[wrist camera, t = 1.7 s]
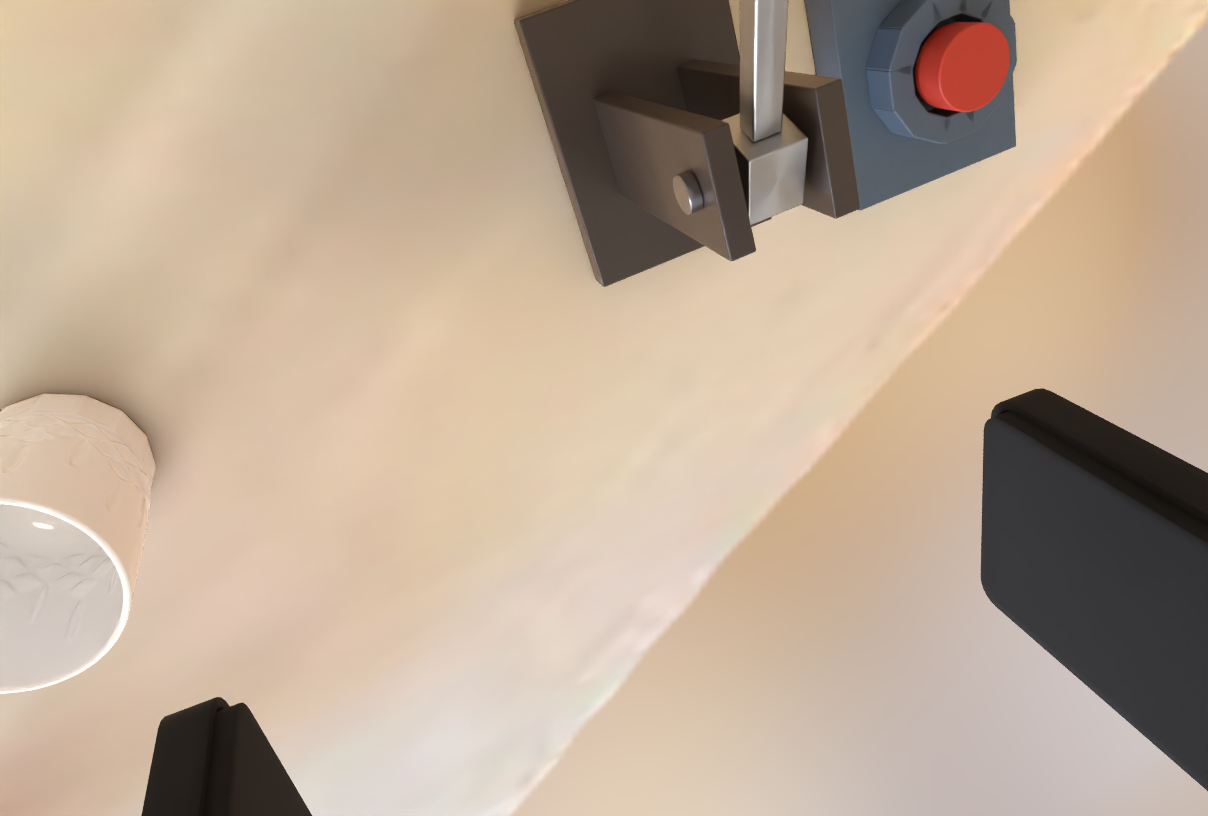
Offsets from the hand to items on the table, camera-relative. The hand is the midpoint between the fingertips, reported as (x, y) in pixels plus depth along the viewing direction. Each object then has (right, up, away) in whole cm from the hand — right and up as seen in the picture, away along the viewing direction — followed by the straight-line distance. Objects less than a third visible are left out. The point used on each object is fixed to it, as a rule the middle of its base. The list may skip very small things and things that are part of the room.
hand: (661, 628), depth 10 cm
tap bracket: (+1, +15, +28) cm, 32 cm away
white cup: (-24, 0, +27) cm, 36 cm away
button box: (+14, +19, +31) cm, 39 cm away
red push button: (+15, +18, +28) cm, 36 cm away
